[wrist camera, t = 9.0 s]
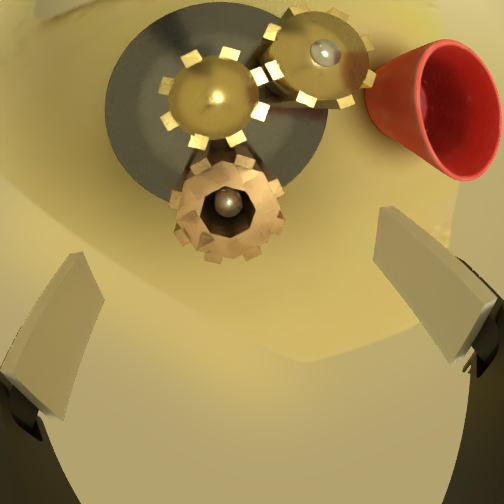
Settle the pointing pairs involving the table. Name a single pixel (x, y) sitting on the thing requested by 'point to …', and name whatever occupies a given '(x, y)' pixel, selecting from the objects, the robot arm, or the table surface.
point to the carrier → (231, 90)
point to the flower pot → (439, 107)
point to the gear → (215, 225)
